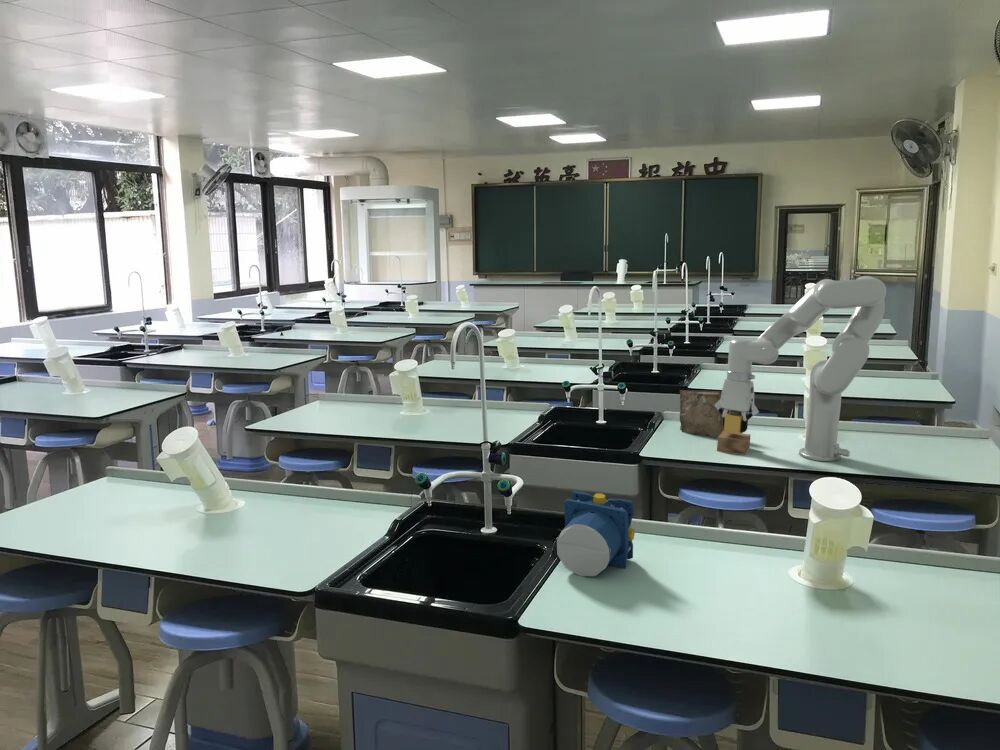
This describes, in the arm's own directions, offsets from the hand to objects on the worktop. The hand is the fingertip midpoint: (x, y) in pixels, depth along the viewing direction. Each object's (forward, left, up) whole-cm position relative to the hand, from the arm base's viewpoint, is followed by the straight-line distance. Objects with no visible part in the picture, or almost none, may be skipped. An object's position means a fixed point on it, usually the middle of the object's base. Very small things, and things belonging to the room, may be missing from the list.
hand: (734, 429), depth 264 cm
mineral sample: (+17, -12, -7) cm, 22 cm away
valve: (-14, +109, -7) cm, 110 cm away
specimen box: (0, 0, -7) cm, 7 cm away
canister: (0, 0, -1) cm, 1 cm away
